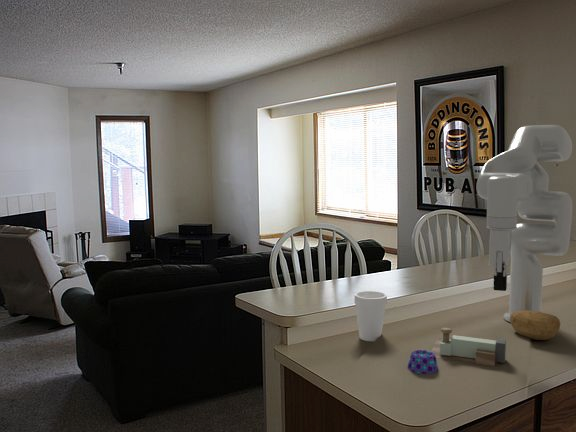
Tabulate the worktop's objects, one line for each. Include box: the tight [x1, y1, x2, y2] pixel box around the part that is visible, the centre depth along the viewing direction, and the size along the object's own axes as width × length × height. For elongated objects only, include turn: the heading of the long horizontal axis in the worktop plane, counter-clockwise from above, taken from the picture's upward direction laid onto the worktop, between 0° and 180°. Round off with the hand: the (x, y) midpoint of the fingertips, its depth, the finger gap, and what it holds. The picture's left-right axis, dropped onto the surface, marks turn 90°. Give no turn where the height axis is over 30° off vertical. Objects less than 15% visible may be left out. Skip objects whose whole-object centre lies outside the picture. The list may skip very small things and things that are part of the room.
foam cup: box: [354, 290, 388, 342], centre depth 166 cm, size 10×9×13 cm
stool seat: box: [430, 327, 498, 367], centre depth 151 cm, size 16×17×8 cm
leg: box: [440, 334, 507, 364], centre depth 147 cm, size 16×4×5 cm, turn 65°
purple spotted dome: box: [407, 349, 439, 375], centre depth 140 cm, size 12×12×5 cm
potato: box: [509, 310, 561, 341], centre depth 164 cm, size 10×14×8 cm
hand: (500, 289), depth 152 cm, fingers closed
